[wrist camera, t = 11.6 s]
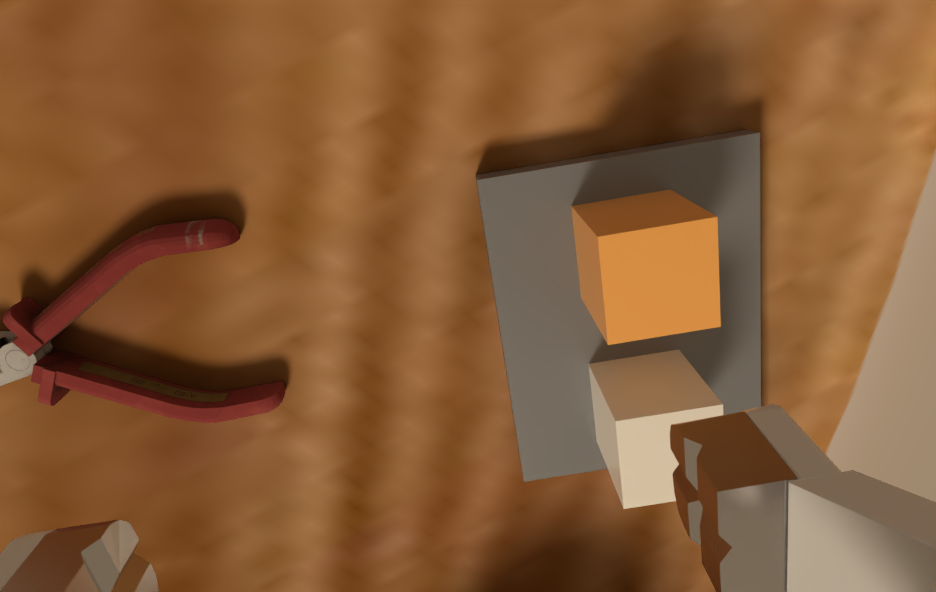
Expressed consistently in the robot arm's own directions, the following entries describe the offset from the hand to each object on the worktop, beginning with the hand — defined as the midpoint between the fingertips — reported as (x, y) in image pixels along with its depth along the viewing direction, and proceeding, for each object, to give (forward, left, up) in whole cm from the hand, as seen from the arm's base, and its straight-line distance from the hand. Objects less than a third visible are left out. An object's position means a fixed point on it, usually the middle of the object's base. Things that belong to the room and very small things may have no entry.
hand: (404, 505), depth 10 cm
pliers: (+4, -19, -26) cm, 33 cm away
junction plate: (+9, +9, -25) cm, 28 cm away
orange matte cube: (+4, +9, -24) cm, 26 cm away
